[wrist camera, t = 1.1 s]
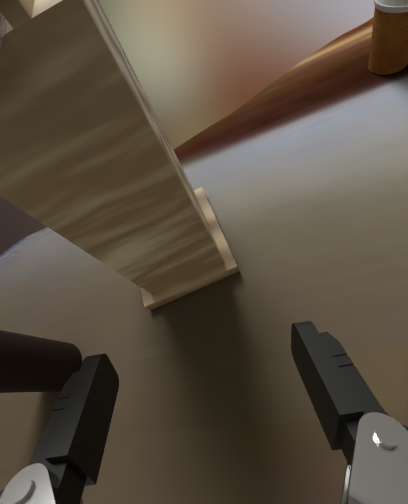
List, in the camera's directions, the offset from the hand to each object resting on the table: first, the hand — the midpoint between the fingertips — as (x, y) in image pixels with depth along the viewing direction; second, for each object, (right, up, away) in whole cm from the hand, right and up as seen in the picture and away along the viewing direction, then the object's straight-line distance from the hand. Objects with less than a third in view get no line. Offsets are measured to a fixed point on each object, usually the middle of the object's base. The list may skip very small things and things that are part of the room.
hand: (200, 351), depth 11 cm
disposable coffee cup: (+35, +40, +37) cm, 64 cm away
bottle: (-22, -14, +28) cm, 38 cm away
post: (-4, +5, +32) cm, 33 cm away
